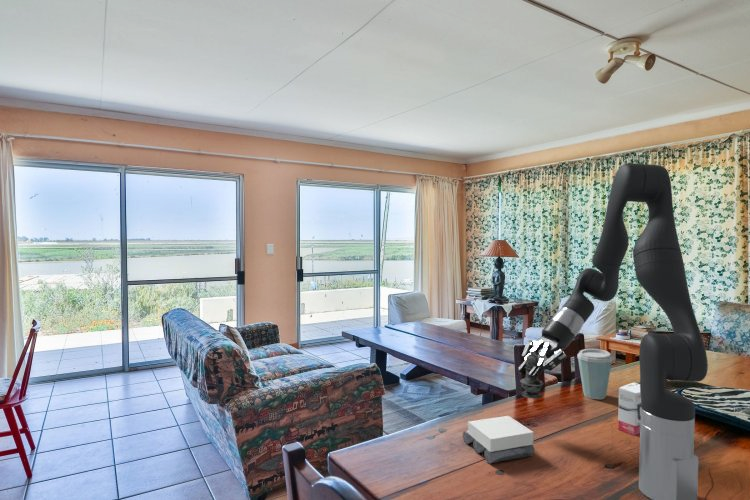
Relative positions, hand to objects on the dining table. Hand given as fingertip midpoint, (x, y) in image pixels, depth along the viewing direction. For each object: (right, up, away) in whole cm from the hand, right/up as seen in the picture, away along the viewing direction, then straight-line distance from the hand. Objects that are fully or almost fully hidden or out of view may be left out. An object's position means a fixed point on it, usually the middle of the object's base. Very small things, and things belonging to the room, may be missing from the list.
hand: (525, 375), depth 117 cm
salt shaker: (+2, -6, +1) cm, 6 cm away
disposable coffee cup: (+33, -15, +29) cm, 46 cm away
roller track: (-10, -16, -9) cm, 21 cm away
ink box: (+31, -16, +4) cm, 36 cm away
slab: (-10, -13, -9) cm, 19 cm away
